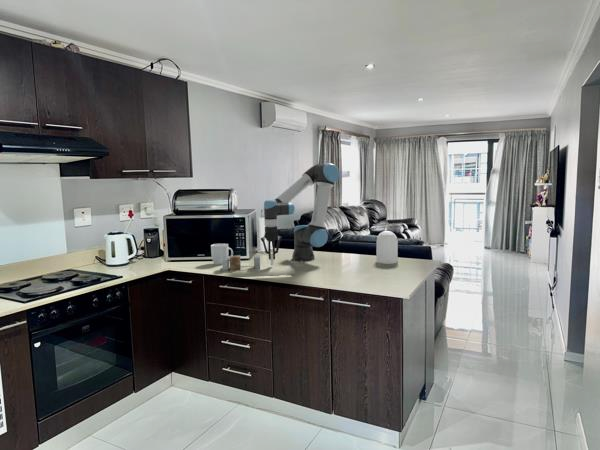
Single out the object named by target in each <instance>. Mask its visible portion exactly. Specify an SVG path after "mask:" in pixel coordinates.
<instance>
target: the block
mask: <svg viewBox="0 0 600 450" xmlns="http://www.w3.org/2000/svg"><path fill="white" fill-rule="evenodd" d="M229 258H230V260H229V271H231V270H242V269H241V268H242V267H241V266H242V264H241V263H242V262H241V254H239V255H234V254H233V256H231V255H229Z"/></svg>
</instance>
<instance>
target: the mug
mask: <svg viewBox="0 0 600 450" xmlns="http://www.w3.org/2000/svg"><path fill="white" fill-rule="evenodd" d="M229 250H230V252H231V253H230V256H234V251H233V248H231V247H229V243H213V244H211V245H210V253H211V255H210V256H211V259H212V263H213V264H214V265H220V266H221V265H222V259H223V257H228V258H229V261H230V257H229Z"/></svg>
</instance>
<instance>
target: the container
mask: <svg viewBox="0 0 600 450" xmlns="http://www.w3.org/2000/svg"><path fill="white" fill-rule="evenodd" d="M398 246H399V241H398V237H397V235H396V234H395V233H394V232H393V231H391V230H383V231H382V232H380V233H379V234H378V235H377V237H376V252H375V253H376V254H375V255H376V263H378V264H385V265H386V264H387V265H389V264H396V263H398V261H399V259H398V258H399V256H398V255H399V252H398V249H399V247H398Z"/></svg>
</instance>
